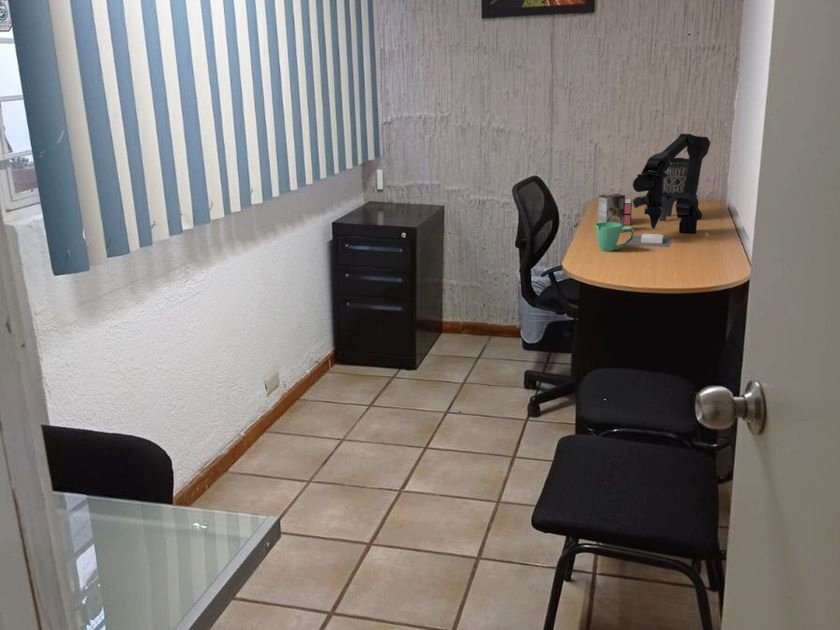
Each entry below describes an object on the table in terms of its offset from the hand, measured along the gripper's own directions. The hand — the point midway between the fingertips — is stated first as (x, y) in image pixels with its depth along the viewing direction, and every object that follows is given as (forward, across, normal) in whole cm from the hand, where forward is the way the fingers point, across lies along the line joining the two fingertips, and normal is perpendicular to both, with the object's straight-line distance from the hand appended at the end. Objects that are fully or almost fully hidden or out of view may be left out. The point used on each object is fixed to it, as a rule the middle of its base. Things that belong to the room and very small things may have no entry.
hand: (653, 228), depth 325 cm
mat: (+5, +3, -1) cm, 6 cm away
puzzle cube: (+5, -34, -17) cm, 38 cm away
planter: (+5, -48, +6) cm, 49 cm away
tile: (+4, -1, 0) cm, 4 cm away
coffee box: (+5, -12, -18) cm, 22 cm away
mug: (+5, +20, -13) cm, 25 cm away
